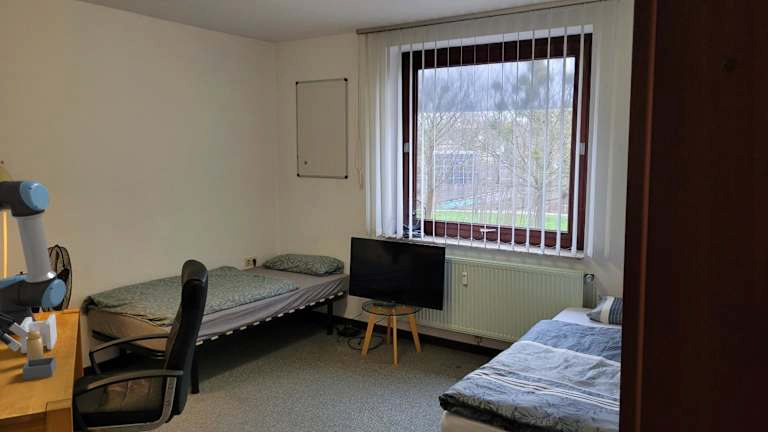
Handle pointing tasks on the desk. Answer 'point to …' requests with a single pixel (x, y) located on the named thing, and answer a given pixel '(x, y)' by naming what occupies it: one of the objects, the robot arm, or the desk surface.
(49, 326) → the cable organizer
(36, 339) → the beige rounded figurine
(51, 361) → the grey open square box
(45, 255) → the robot arm
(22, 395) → the desk surface
